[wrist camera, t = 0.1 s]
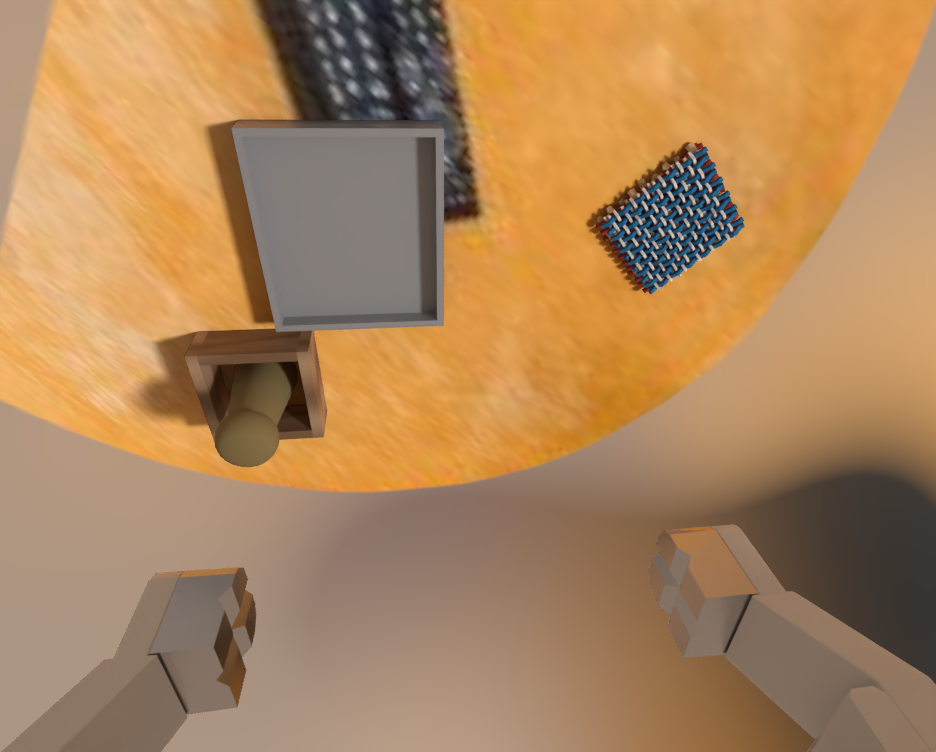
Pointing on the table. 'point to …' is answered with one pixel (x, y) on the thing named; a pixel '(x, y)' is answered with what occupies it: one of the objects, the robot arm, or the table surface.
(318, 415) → the holder
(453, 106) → the table surface
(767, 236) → the table surface
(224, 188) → the table surface
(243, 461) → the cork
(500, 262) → the table surface
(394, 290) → the tray
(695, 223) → the woven mat
